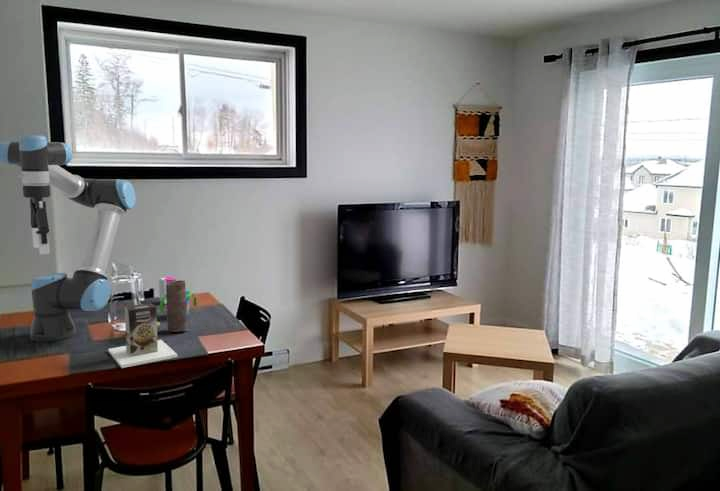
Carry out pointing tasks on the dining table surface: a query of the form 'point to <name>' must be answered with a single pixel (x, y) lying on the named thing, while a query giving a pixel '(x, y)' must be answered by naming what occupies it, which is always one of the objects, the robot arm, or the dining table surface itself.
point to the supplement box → (164, 287)
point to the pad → (127, 360)
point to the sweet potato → (176, 306)
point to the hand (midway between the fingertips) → (41, 250)
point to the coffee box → (141, 329)
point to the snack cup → (188, 297)
